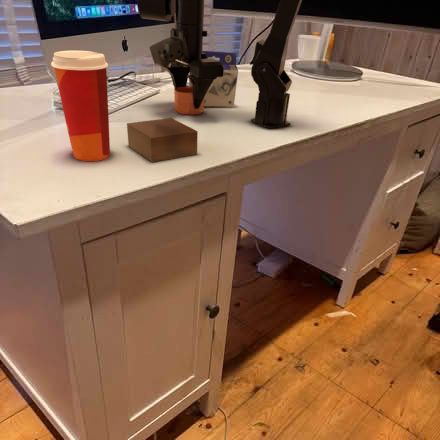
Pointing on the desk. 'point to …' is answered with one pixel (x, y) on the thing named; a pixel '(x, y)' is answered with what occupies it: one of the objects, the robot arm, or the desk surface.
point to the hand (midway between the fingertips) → (188, 104)
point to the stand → (162, 139)
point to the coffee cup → (84, 102)
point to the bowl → (186, 101)
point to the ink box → (222, 81)
